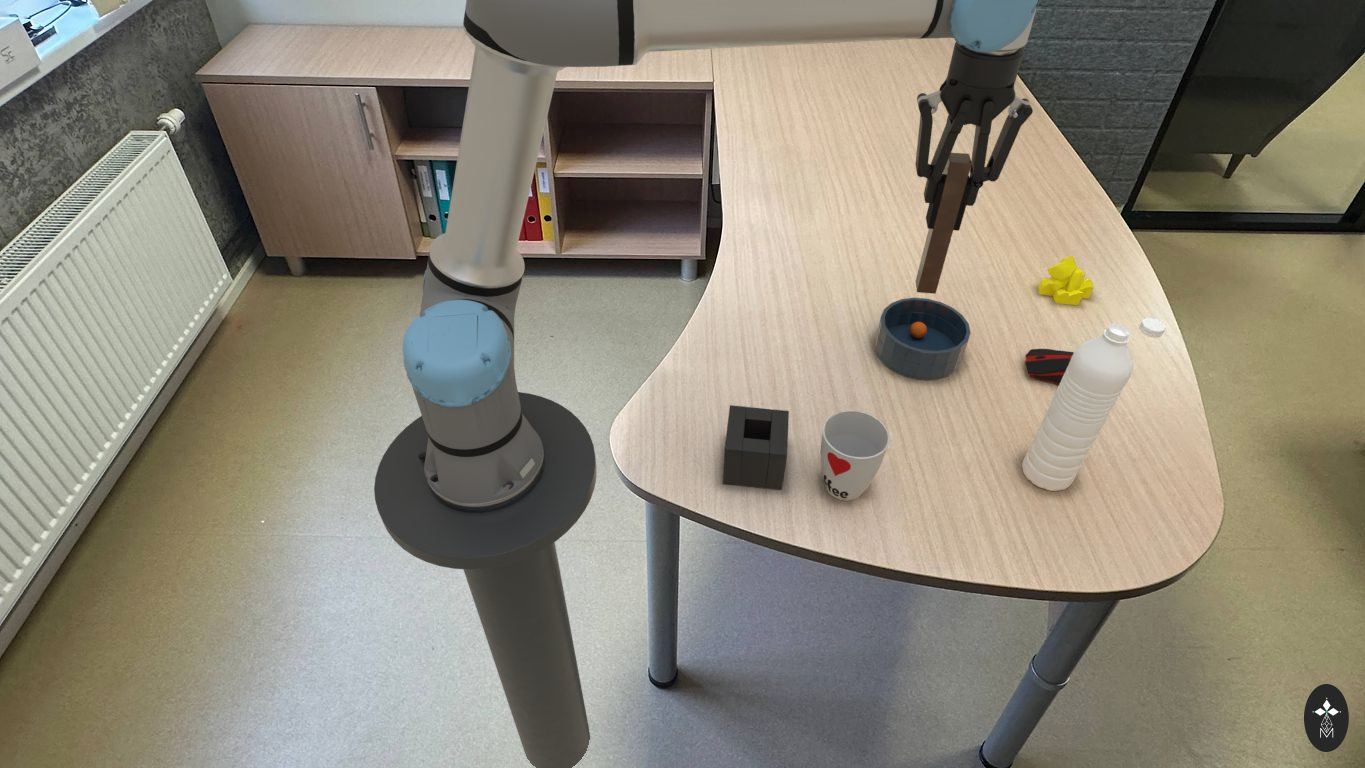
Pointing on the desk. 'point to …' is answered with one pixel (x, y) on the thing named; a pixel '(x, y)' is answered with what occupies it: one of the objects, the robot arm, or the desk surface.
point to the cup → (851, 452)
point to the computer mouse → (1047, 364)
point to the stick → (943, 223)
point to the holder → (756, 447)
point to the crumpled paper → (1066, 283)
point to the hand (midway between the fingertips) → (942, 223)
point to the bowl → (922, 339)
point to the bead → (918, 329)
